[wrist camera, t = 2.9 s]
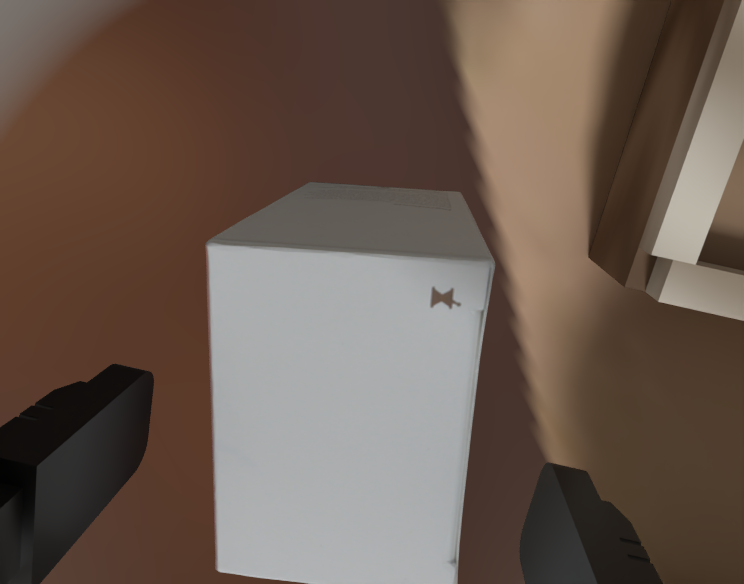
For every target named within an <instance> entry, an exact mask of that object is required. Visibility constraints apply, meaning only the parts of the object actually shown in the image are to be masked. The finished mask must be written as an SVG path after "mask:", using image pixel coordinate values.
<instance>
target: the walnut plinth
mask: <svg viewBox="0 0 744 584" xmlns="http://www.w3.org/2000/svg"><path fill="white" fill-rule="evenodd" d="M589 258H590V259H591V260H592V261H593V262H595V263H596V264H597V265H598V266H600V267H601V268H602V269H603V270H604V271H606V272H607V273H608V274H609V275H610V276H612V277H613V278H614V279H615V280H617V281H618V282H619V283H620V284H621V285H623V286H624V287H626V288H631V289H635V290H640V291H644V292H646V293H647V294H649V295H650V296H651V297H653V298H654V299H655V300H657V301H658V302H662V303H666V304H671V305H675V306H680V307H684V308H689V309H693V310H697V311H702V312H706V313H711V314H715V315H720V316H724V317H729V318H733V319H738V320H742V321H744V0H672V1H671V4H670V7H669V11H668V14H667V17H666V20H665V23H664V26H663V29H662V32H661V35H660V38H659V41H658V44H657V48H656V51H655V54H654V57H653V60H652V63H651V66H650V69H649V72H648V75H647V78H646V81H645V85H644V88H643V91H642V94H641V97H640V100H639V103H638V106H637V109H636V112H635V115H634V118H633V122H632V125H631V128H630V131H629V134H628V137H627V140H626V143H625V146H624V149H623V152H622V155H621V159H620V162H619V165H618V168H617V171H616V174H615V177H614V180H613V183H612V186H611V189H610V193H609V196H608V199H607V202H606V205H605V208H604V211H603V214H602V217H601V220H600V223H599V226H598V230H597V233H596V236H595V239H594V242H593V245H592V248H591V251H590V254H589Z"/></svg>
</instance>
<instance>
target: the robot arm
mask: <svg viewBox="0 0 744 584" xmlns="http://www.w3.org/2000/svg"><path fill="white" fill-rule="evenodd" d="M153 386H154V378H153V374H152V373H151V372H149V371H145V370H141V369H136V368H132V367H127V366H123V365H118V364H112V365H110V366H109V367H107V368H106V369H105V370H103V371H102V372H101V373H99V374H98V375H97V376H95V377H94V378H93V379H91V380H90V381H89V382H87V383H86V382H82V381H79V382H76V383H73V384H70V385H67V386H64V387H61V388H59V389H55V390H53V391H52V392H50V393H49V394H48V395H46V396H45V397H43V398H42V399H40V400H39V401H38V402H36V404H35V406H30V407H29V408H27V409H26V410H25V411H23V412H22V413H20V415H19V417H15V418H13V419H12V420H10V421H9V422H7V423H6V424H5V425H3V426H2V427H0V584H40V583H41V582H42V581H43V579H44V578H45V577H46V576H47V575H48V574H49V573H50V571H51V570H52V569H53V568H54V567H55V565H56V564H57V563H58V562H59V561H60V560H61V558H62V557H63V556H64V555H65V554H66V552H67V551H68V550H69V549H70V548H71V547H72V546H73V544H74V543H75V542H76V541H77V540H78V538H79V537H80V536H81V535H82V534H83V533H84V531H85V530H86V529H87V528H88V527H89V526H90V524H91V523H92V522H93V521H94V520H95V518H96V517H97V516H98V515H99V514H100V513H101V511H102V510H103V509H104V508H105V507H106V506H107V504H108V503H109V502H110V501H111V500H112V498H113V497H114V496H115V495H116V494H117V493H118V491H119V490H120V489H121V488H122V487H123V485H124V484H125V483H126V482H127V481H128V480H129V478H130V477H131V476H132V475H133V474H134V473H135V471H136V470H137V468H138V467H139V465H140V463H141V461H142V458H143V456H144V453H145V450H146V446H147V441H148V433H149V424H150V414H151V405H152V396H153V395H152V394H153ZM520 562H521V566H522V571H523V575H524V580H525V584H663V583H662V581H661V579H660V577H659V575H658V573H657V572H656V570H655V568H654V566H653V564H650V558H649V556H648V555H647V553H646V551H645V549H644V547H643V546H641V541H640V539H639V538H638V536H637V534H636V532H635V530H634V528H633V526H632V524H631V522H630V521H629V520H628V519H627V518H626V517H625V516H624V515H623V514H622V513H621V512H620V511H619V510H618V509H617V508H616V507H615V506H614V505H613V504H612V503H611V502H606V501H602V500H601V499H600V497H599V495H598V493H597V491H596V489H595V487H594V485H593V482H592V480H591V478H590V476H589V474H588V473H587V472H586V471H584V470H580V469H576V468H571V467H567V466H562V465H558V464H553V463H546V464H545V465H544V467H543V469H542V471H541V473H540V476H539V479H538V483H537V486H536V489H535V492H534V495H533V498H532V501H531V504H530V507H529V510H528V513H527V516H526V519H525V523H524V526H523V529H522V534H521V540H520Z"/></svg>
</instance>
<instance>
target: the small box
mask: <svg viewBox="0 0 744 584" xmlns="http://www.w3.org/2000/svg"><path fill="white" fill-rule="evenodd" d="M205 247H206V267H207V305H208V330H209V363H210V388H211V389H210V390H211V421H212V451H213V452H212V453H213V480H214V521H215V554H216V561H215V569H216V570H218V571H219V572H225V573H232V574H238V575H244V576H251V577H259V578H267V579H276V580H284V581H293V582H302V583H309V584H457V579H458V557H459V543H460V532H461V521H462V511H463V502H464V492H465V484H466V475H467V466H468V457H469V448H470V439H471V430H472V421H473V413H474V405H475V396H476V387H477V379H478V370H479V362H480V354H481V347H482V340H483V334H484V328H485V320H486V315H487V309H488V303H489V297H490V291H491V285H492V278H493V274H494V269H495V262H494V259H493V257H492V255H491V254H490V252H489V249H488V247H487V246H486V244H485V241H484V239H483V237H482V235H481V233H480V231H479V229H478V227H477V224H476V222H475V220H474V218H473V216H472V214H471V212H470V210H469V208H468V206H467V203H466V202H465V200H464V198H463V196H462V194H461V193H460V192H456V191H437V190H423V189H409V188H394V187H379V186H364V185H363V186H362V185H350V184H334V183H319V182H309V183H307V184H306V185H304V186H302V187H300V188H299V189H297V190H295V191H293V192H291V193H289V194H288V195H286V196H284V197H282V198H281V199H279V200H277V201H276V202H274V203H272V204H270V205H269V206H267V207H265V208H264V209H262V210H260V211H258V212H257V213H255V214H253V215H251V216H249V217H247V218H245V219H243V220H242V221H240V222H238V223H237V224H235V225H234V226H232V227H230V228H229V229H227V230H225V231H223V232H222V233H220V234H218V235H216V236H215V237H213V238H212V239H210V240H209V241H207V243H206V244H205Z"/></svg>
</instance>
